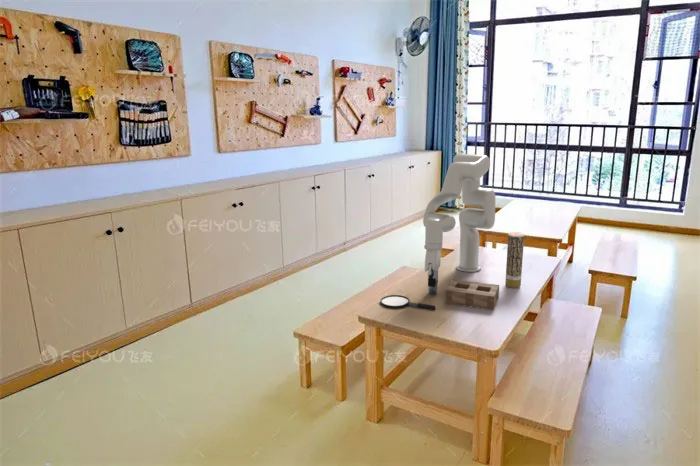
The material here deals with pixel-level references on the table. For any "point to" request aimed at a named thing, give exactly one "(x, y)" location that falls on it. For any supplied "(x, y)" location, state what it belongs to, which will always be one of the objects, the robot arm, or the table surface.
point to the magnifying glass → (402, 303)
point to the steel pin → (434, 289)
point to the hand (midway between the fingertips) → (432, 284)
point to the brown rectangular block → (472, 294)
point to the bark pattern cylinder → (514, 259)
